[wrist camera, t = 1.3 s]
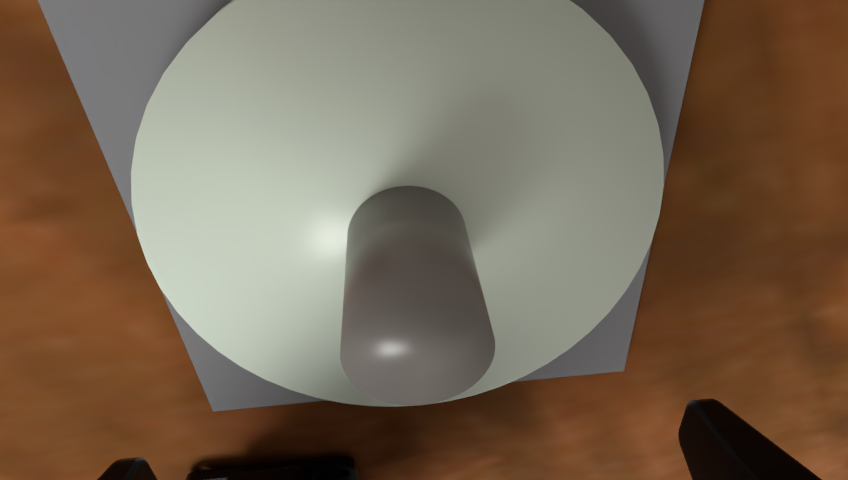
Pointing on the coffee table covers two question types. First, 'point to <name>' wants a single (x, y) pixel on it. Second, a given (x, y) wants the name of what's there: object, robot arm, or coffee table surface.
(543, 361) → the lid
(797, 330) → the coffee table surface
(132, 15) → the mat
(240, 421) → the coffee table surface
